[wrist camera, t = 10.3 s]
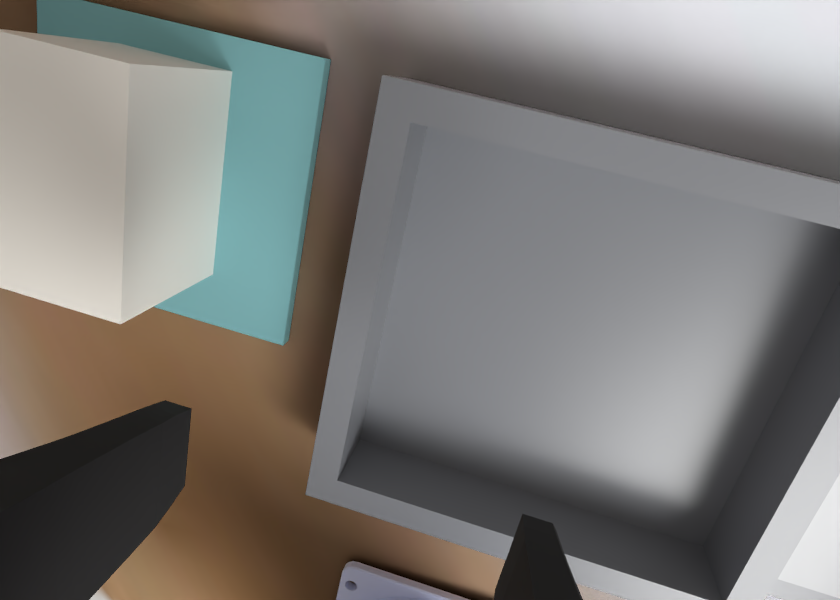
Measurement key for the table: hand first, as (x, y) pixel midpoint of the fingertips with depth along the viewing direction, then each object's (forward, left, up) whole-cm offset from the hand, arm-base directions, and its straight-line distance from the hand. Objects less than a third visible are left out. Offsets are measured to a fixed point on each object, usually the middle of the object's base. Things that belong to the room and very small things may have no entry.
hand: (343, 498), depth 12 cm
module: (+4, +10, -9) cm, 14 cm away
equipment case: (+1, -13, -9) cm, 16 cm away
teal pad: (+3, +10, -9) cm, 14 cm away
